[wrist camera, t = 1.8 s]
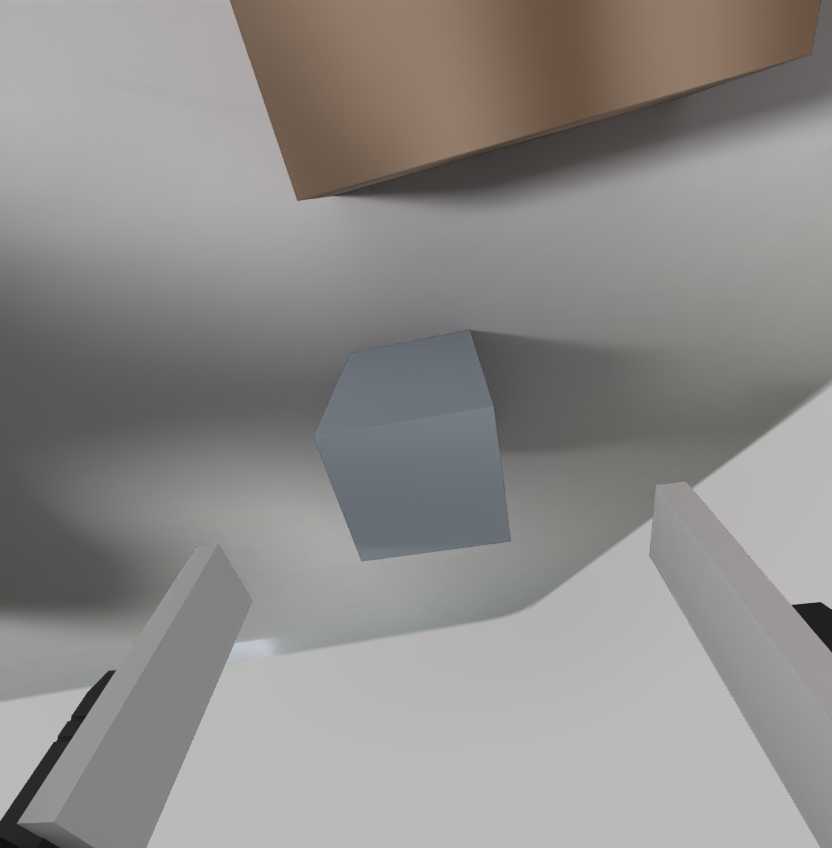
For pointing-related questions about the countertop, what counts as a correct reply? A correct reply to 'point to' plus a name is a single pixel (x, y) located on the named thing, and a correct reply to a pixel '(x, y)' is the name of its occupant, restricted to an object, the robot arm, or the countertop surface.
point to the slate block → (415, 449)
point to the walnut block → (486, 72)
